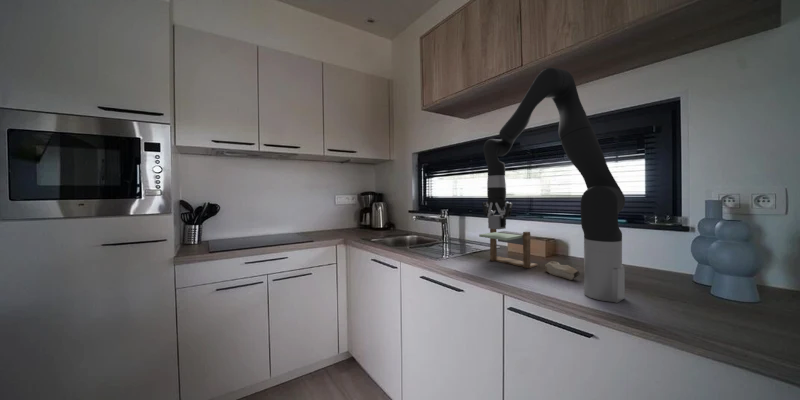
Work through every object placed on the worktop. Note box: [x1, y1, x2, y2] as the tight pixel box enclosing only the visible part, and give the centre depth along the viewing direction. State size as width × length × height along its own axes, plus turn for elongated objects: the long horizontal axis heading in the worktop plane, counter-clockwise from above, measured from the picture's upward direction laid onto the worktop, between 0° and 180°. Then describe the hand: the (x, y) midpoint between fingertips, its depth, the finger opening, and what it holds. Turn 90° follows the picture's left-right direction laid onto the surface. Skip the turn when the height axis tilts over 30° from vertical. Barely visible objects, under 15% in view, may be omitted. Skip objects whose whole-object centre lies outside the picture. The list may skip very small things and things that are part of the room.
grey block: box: [487, 214, 507, 230], centre depth 119 cm, size 5×5×6 cm
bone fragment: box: [544, 260, 581, 281], centre depth 106 cm, size 14×6×5 cm, turn 6°
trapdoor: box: [478, 230, 523, 246], centre depth 123 cm, size 14×18×4 cm
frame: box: [489, 228, 538, 269], centre depth 126 cm, size 19×7×15 cm, turn 36°
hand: (496, 226), depth 119 cm, fingers closed on grey block, 5 cm apart
